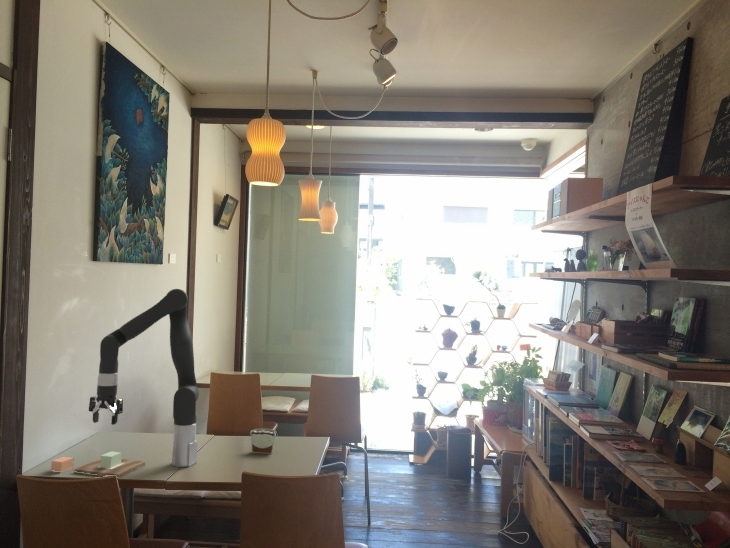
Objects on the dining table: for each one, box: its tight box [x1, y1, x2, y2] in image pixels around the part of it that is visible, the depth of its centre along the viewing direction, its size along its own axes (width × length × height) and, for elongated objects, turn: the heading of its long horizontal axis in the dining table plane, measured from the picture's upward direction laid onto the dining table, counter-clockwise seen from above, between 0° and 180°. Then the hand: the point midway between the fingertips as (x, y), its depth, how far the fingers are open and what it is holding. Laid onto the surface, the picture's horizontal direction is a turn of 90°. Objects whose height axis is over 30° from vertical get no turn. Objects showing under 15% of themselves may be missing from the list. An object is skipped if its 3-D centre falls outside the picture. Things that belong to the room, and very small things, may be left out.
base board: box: [73, 457, 146, 478], centre depth 217 cm, size 20×17×2 cm
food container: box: [249, 427, 277, 455], centre depth 249 cm, size 12×6×10 cm, turn 84°
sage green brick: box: [100, 450, 122, 468], centre depth 217 cm, size 5×6×4 cm
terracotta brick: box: [50, 456, 74, 471], centre depth 214 cm, size 5×6×4 cm
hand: (104, 423), depth 217 cm, fingers open, 8 cm apart
